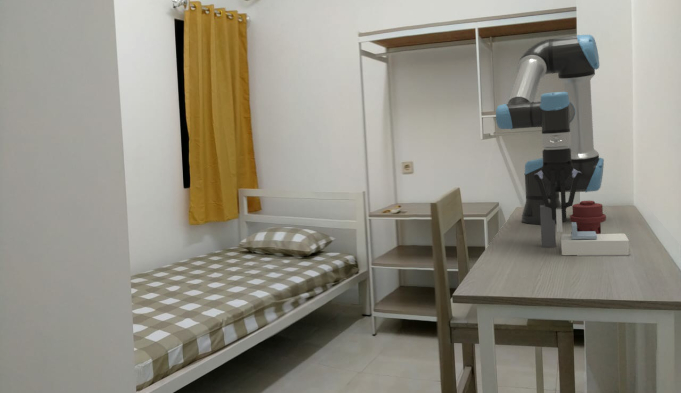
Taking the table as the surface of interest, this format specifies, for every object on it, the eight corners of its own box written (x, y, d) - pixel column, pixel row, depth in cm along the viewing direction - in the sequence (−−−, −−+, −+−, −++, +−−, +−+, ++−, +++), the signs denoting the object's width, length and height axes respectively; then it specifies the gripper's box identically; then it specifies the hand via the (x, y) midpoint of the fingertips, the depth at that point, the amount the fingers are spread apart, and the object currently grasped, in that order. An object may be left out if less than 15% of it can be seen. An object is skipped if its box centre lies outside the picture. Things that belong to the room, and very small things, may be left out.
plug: (541, 244, 187) (539, 198, 186) (555, 244, 186) (554, 198, 184) (541, 247, 184) (539, 200, 182) (555, 247, 182) (554, 200, 181)
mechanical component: (602, 238, 189) (610, 244, 180) (568, 239, 191) (573, 246, 182) (601, 198, 188) (608, 202, 178) (566, 200, 190) (572, 204, 180)
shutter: (571, 234, 178) (570, 222, 177) (595, 233, 175) (594, 221, 175) (572, 239, 171) (571, 226, 171) (597, 238, 169) (596, 225, 168)
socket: (561, 248, 180) (560, 234, 180) (625, 247, 175) (624, 233, 174) (561, 255, 171) (561, 241, 171) (629, 255, 165) (628, 240, 165)
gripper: (531, 150, 171) (535, 234, 174) (582, 147, 167) (584, 233, 169) (532, 148, 178) (535, 229, 181) (580, 145, 174) (583, 228, 176)
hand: (559, 231), depth 175 cm, fingers closed
